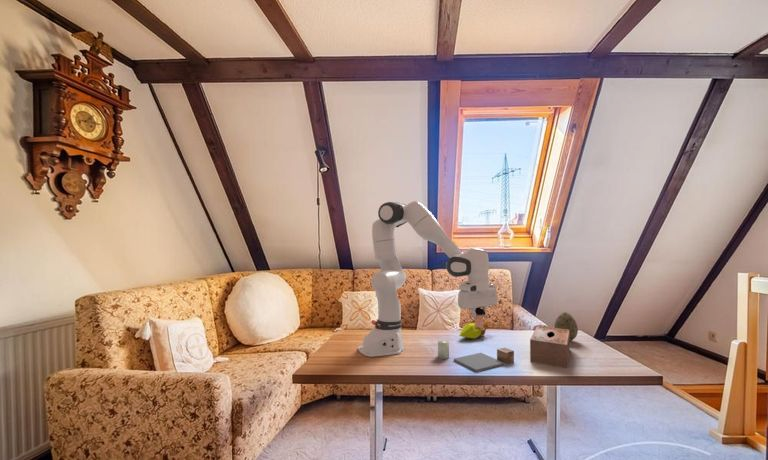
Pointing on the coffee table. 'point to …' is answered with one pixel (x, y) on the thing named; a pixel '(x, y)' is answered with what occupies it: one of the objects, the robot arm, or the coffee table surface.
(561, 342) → the tissue box cover
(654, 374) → the coffee table surface
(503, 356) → the walnut block
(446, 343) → the sage green capsule
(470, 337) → the plumb bob
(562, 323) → the decorative egg
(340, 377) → the coffee table surface
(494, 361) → the slate mat
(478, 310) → the grandmother figurine
